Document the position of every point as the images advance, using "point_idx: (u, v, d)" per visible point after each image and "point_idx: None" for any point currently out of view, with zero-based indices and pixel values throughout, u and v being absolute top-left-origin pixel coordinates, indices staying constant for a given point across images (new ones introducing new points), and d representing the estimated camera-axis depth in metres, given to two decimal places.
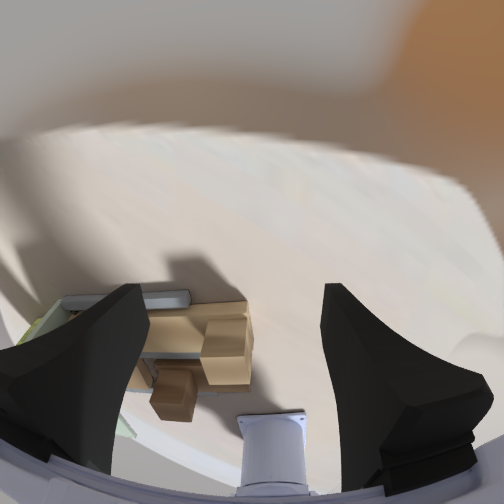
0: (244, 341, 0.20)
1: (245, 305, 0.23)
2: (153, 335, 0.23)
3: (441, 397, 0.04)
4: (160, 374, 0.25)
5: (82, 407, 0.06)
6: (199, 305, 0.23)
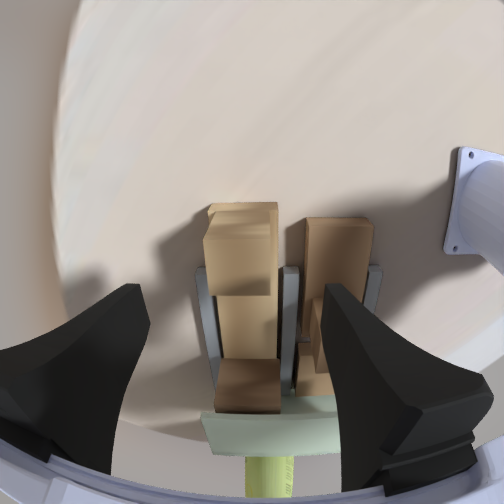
0: None
1: (210, 208, 0.18)
2: (247, 324, 0.20)
3: (441, 397, 0.04)
4: (310, 336, 0.20)
5: (82, 407, 0.06)
6: None
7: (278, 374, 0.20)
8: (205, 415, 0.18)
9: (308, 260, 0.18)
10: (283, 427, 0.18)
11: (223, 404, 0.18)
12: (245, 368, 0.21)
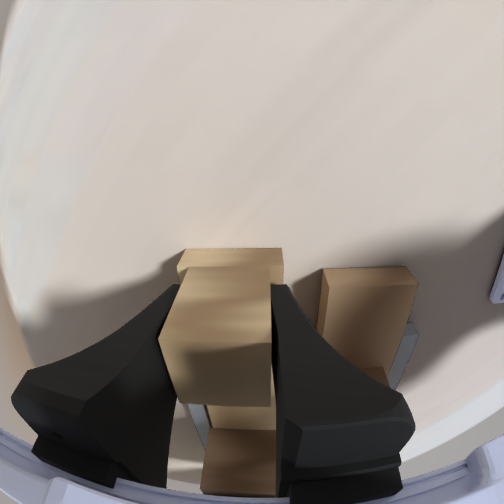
0: (171, 309, 0.09)
1: (182, 258, 0.12)
2: None
3: (332, 416, 0.04)
4: None
5: (145, 421, 0.06)
6: None
7: None
8: None
9: (324, 330, 0.12)
10: None
11: (211, 488, 0.12)
12: (238, 443, 0.15)
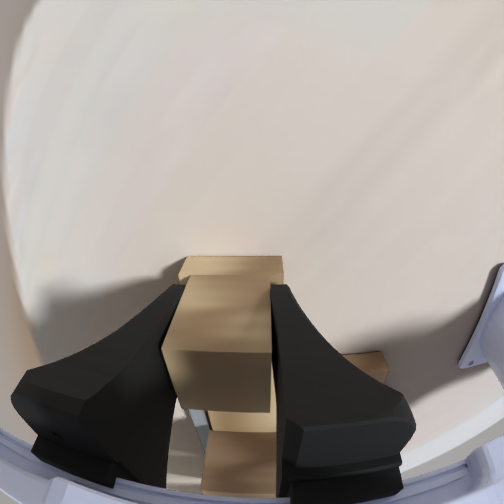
0: (174, 318, 0.09)
1: (183, 266, 0.12)
2: None
3: (332, 416, 0.04)
4: None
5: (145, 421, 0.06)
6: None
7: None
8: None
9: None
10: None
11: (211, 490, 0.12)
12: (238, 445, 0.15)
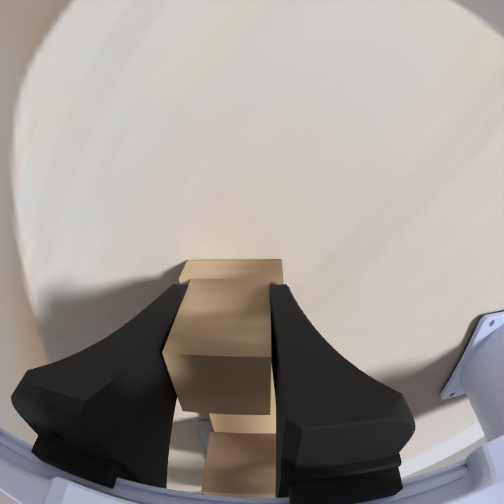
0: (174, 322, 0.09)
1: (184, 269, 0.12)
2: None
3: (332, 416, 0.04)
4: None
5: (145, 421, 0.06)
6: None
7: None
8: None
9: None
10: None
11: (213, 491, 0.12)
12: (239, 446, 0.15)
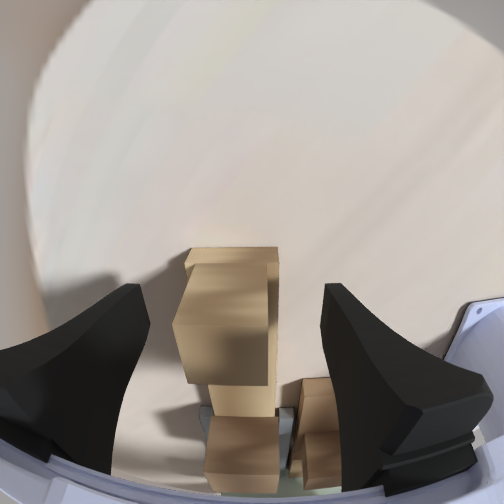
0: (182, 299, 0.10)
1: (189, 256, 0.13)
2: (240, 385, 0.16)
3: (441, 397, 0.04)
4: (301, 454, 0.19)
5: (82, 407, 0.06)
6: None
7: (276, 436, 0.16)
8: None
9: (302, 415, 0.17)
10: None
11: (214, 472, 0.14)
12: (238, 429, 0.17)
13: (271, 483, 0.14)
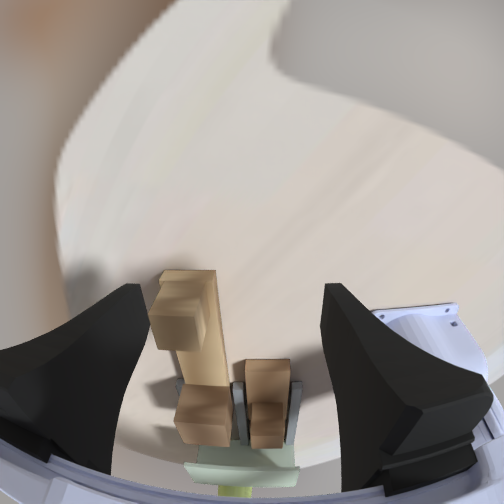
0: (154, 302, 0.18)
1: (162, 275, 0.22)
2: (199, 360, 0.24)
3: (441, 397, 0.04)
4: None
5: (82, 407, 0.06)
6: None
7: (226, 399, 0.24)
8: (186, 464, 0.25)
9: (246, 386, 0.26)
10: (235, 473, 0.25)
11: (180, 421, 0.22)
12: (201, 393, 0.25)
13: (222, 434, 0.23)
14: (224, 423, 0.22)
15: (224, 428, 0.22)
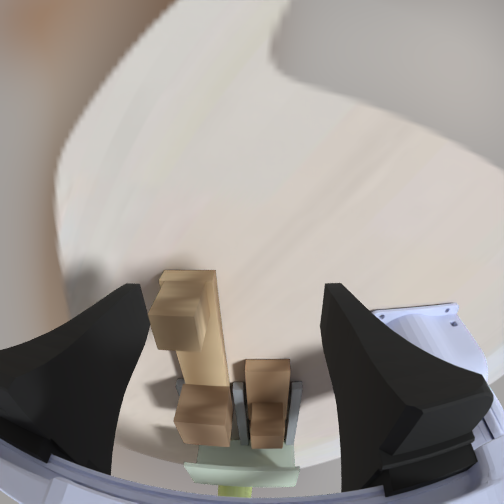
0: (154, 302, 0.18)
1: (162, 275, 0.22)
2: (199, 360, 0.24)
3: (441, 397, 0.04)
4: None
5: (82, 407, 0.06)
6: None
7: (226, 399, 0.24)
8: (186, 464, 0.25)
9: (246, 386, 0.26)
10: (235, 473, 0.25)
11: (180, 421, 0.22)
12: (201, 393, 0.25)
13: (222, 434, 0.23)
14: (224, 423, 0.22)
15: (224, 428, 0.22)
